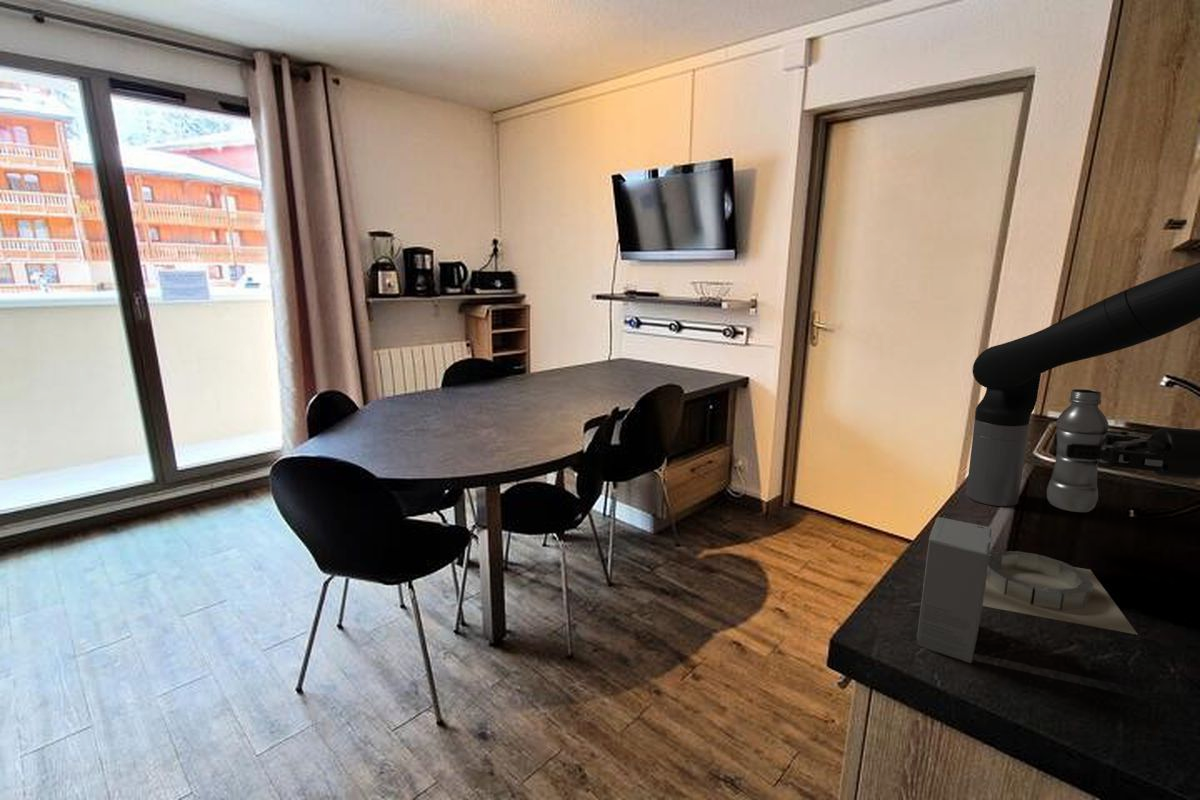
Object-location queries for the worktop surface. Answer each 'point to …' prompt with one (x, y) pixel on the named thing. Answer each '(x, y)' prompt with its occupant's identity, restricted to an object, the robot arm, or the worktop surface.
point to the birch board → (1093, 614)
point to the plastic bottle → (1071, 475)
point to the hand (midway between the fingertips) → (1061, 444)
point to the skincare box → (954, 588)
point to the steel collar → (1037, 594)
